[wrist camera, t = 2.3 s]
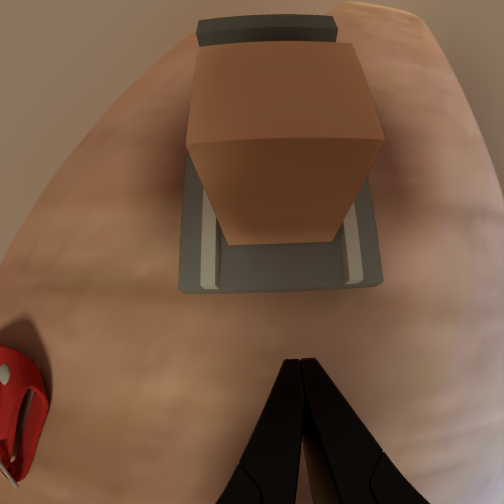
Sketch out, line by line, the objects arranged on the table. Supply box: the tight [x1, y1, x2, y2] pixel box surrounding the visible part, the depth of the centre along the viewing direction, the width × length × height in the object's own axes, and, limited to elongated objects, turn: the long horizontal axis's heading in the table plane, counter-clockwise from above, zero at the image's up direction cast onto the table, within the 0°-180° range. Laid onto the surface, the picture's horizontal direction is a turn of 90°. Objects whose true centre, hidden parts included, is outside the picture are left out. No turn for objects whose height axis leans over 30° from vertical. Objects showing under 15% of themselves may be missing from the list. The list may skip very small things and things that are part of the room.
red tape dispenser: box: [0, 344, 49, 489], centre depth 16 cm, size 12×4×10 cm
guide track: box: [178, 14, 383, 294], centre depth 19 cm, size 20×12×6 cm, turn 1°
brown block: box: [185, 41, 385, 245], centre depth 14 cm, size 5×6×10 cm
